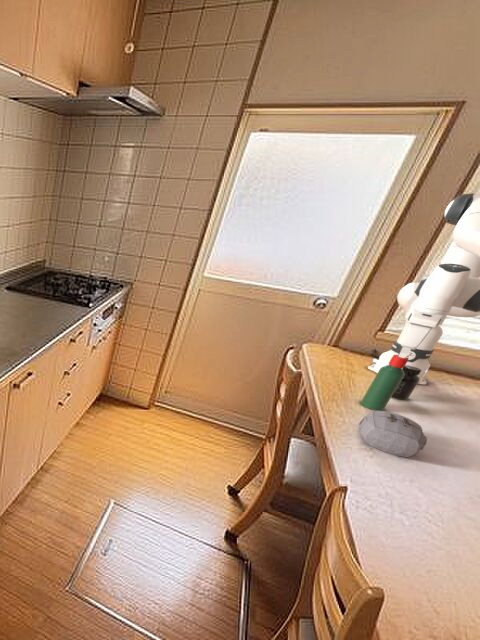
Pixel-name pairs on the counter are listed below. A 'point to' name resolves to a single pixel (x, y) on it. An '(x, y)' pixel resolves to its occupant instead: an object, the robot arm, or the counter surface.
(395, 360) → the cap
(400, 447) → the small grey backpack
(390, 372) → the bottle
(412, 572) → the counter surface
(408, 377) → the supplement bottle
